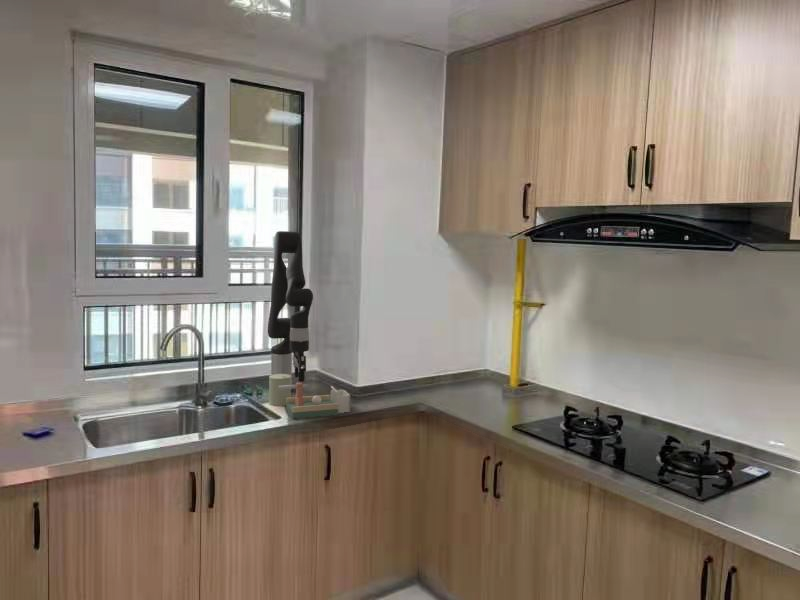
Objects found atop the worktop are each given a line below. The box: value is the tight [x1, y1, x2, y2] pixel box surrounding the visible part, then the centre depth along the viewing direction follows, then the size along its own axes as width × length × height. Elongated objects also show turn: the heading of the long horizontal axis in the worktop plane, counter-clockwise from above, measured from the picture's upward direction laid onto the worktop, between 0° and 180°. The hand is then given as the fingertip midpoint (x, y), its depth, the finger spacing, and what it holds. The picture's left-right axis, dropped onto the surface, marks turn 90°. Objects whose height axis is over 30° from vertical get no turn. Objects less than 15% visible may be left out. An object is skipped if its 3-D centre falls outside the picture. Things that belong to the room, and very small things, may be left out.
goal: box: [330, 385, 351, 414], centre depth 250 cm, size 10×6×9 cm, turn 20°
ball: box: [312, 395, 322, 405], centre depth 247 cm, size 4×4×4 cm
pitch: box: [285, 394, 339, 419], centre depth 246 cm, size 15×18×4 cm
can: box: [268, 374, 292, 407], centre depth 259 cm, size 9×9×12 cm
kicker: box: [279, 381, 311, 406], centre depth 244 cm, size 7×12×9 cm, turn 110°
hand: (299, 379), depth 244 cm, fingers open, 8 cm apart
